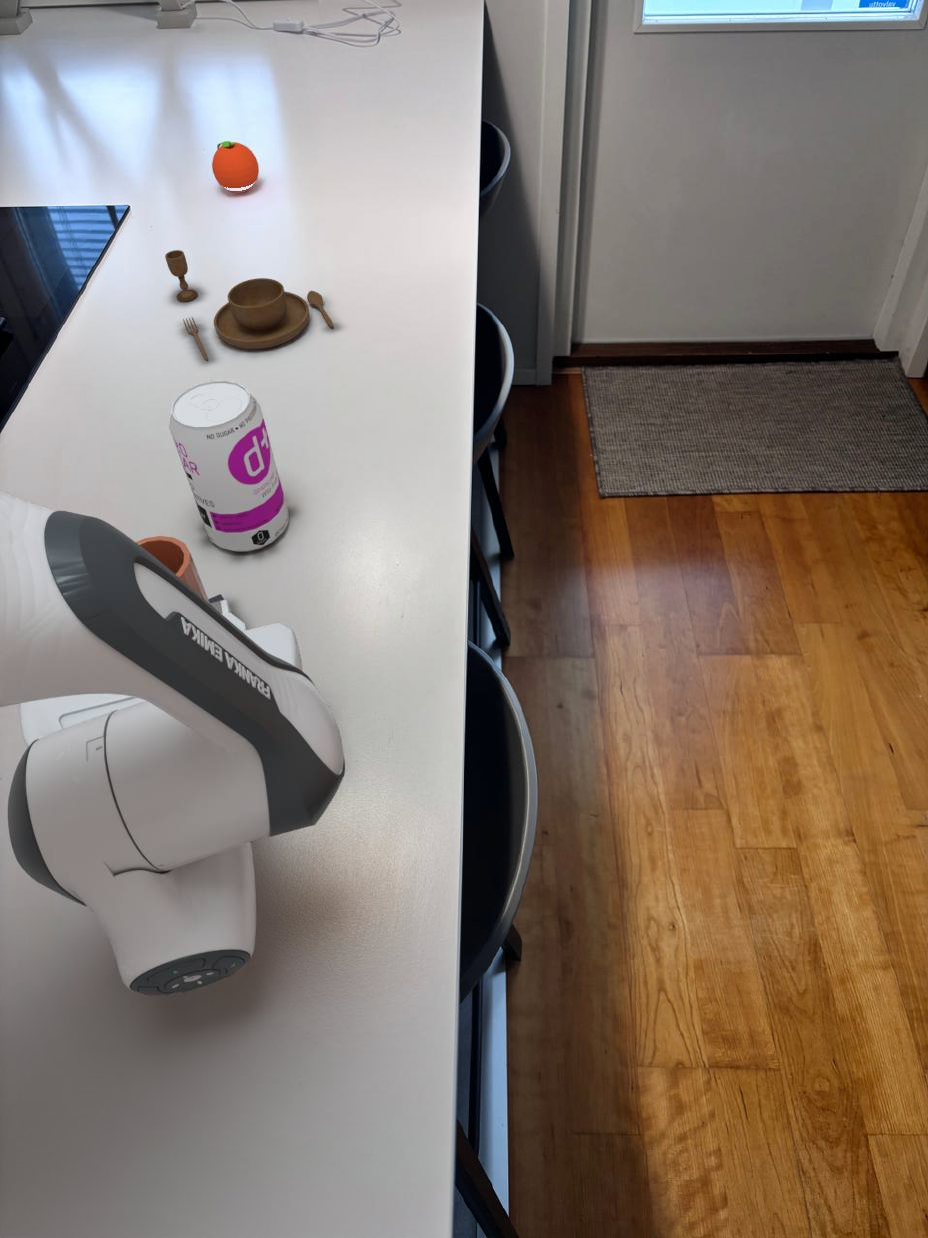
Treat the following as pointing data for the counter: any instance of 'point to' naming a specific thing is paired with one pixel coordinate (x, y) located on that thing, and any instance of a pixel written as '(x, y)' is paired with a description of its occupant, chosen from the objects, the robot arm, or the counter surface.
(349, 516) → the counter surface
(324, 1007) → the counter surface
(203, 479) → the supplement can
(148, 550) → the cup
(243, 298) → the place setting
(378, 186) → the counter surface
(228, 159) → the clementine
